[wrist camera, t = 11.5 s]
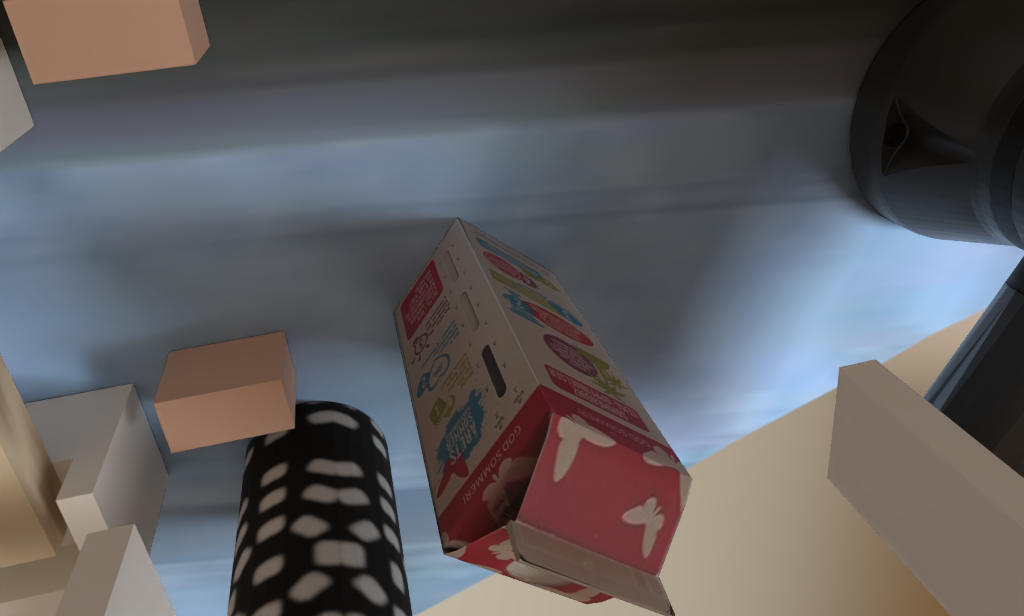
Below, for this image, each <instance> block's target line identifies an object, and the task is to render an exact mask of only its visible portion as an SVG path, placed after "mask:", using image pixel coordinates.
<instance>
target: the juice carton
mask: <svg viewBox="0 0 1024 616" xmlns="http://www.w3.org/2000/svg"><path fill="white" fill-rule="evenodd" d="M393 315H394V320H395V325H396V330H397V334H398V339H399V344H400V349H401V354H402V358H403V363H404V368H405V373H406V377H407V382H408V387H409V392H410V397H411V401H412V406H413V411H414V416H415V420H416V425H417V430H418V435H419V439H420V444H421V449H422V454H423V458H424V463H425V468H426V473H427V477H428V482H429V487H430V492H431V497H432V501H433V506H434V511H435V516H436V520H437V525H438V530H439V535H440V539H441V544H442V549H443V554H444V555H447V556H450V557H453V558H456V559H459V560H462V561H465V562H467V563H470V564H473V565H476V566H479V567H482V568H485V569H487V570H490V571H493V572H496V573H499V574H502V575H505V576H508V577H510V578H513V579H517V580H519V581H522V582H525V583H528V584H530V585H533V586H536V587H539V588H542V589H545V590H548V591H550V592H554V593H556V594H559V595H562V596H565V597H568V598H571V599H574V600H577V601H579V602H582V603H585V604H591V603H598V602H603V601H606V600H608V599H611V598H614V597H615V598H618V599H620V600H623V601H626V602H629V603H632V604H634V605H637V606H640V607H643V608H646V609H648V610H651V611H654V612H656V613H659V614H662V615H665V616H675V613H674V611H673V609H672V607H671V604H670V602H669V599H668V597H667V595H666V592H665V590H664V588H663V585H662V583H661V581H660V578H659V577H658V576H659V574H660V571H661V569H662V566H663V563H664V561H665V558H666V555H667V553H668V550H669V547H670V544H671V542H672V539H673V537H674V534H675V531H676V529H677V526H678V523H679V521H680V518H681V515H682V513H683V510H684V507H685V504H686V502H687V498H688V495H689V490H690V487H691V483H692V478H691V476H690V475H689V473H688V472H687V470H686V469H685V467H684V466H683V465H682V463H681V462H680V460H679V459H678V457H677V456H676V454H675V453H674V451H673V450H672V448H671V447H670V445H669V444H668V442H667V441H666V439H665V438H664V436H663V435H662V433H661V432H660V430H659V429H658V428H657V426H656V425H655V423H654V422H653V420H652V419H651V417H650V416H649V414H648V413H647V411H646V410H645V408H644V407H643V405H642V404H641V402H640V401H639V399H638V398H637V397H636V395H635V394H634V392H633V391H632V389H631V388H630V386H629V385H628V383H627V382H626V380H625V379H624V377H623V376H622V374H621V373H620V371H619V370H618V368H617V367H616V365H615V364H614V362H613V361H612V359H611V358H610V357H609V355H608V354H607V352H606V351H605V349H604V348H603V346H602V345H601V343H600V342H599V340H598V339H597V337H596V336H595V334H594V333H593V331H592V330H591V328H590V327H589V325H588V324H587V322H586V321H585V320H584V318H583V317H582V315H581V314H580V312H579V311H578V309H577V308H576V306H575V305H574V303H573V302H572V300H571V299H570V297H569V296H568V294H567V293H566V291H565V290H564V288H563V287H562V286H561V284H560V283H559V281H558V280H557V278H556V277H555V275H554V274H553V272H551V271H549V270H547V269H546V268H544V267H542V266H541V265H539V264H537V263H535V262H534V261H532V260H530V259H529V258H527V257H525V256H523V255H522V254H520V253H518V252H517V251H515V250H513V249H511V248H510V247H508V246H506V245H505V244H503V243H501V242H499V241H498V240H496V239H494V238H493V237H491V236H489V235H487V234H486V233H484V232H482V231H481V230H479V229H477V228H475V227H474V226H472V225H470V224H469V223H467V222H465V221H463V220H462V219H460V218H458V217H457V219H456V220H455V222H454V223H453V225H452V226H451V228H450V229H449V231H448V232H447V234H446V235H445V237H444V238H443V240H442V241H441V243H440V244H439V246H438V247H437V249H436V250H435V252H434V253H433V255H432V256H431V258H430V259H429V261H428V262H427V264H426V265H425V267H424V268H423V270H422V271H421V273H420V274H419V276H418V277H417V279H416V280H415V282H414V283H413V285H412V286H411V288H410V289H409V291H408V292H407V294H406V295H405V296H404V298H403V299H402V301H401V302H400V304H399V305H398V307H397V308H396V310H395V311H394V313H393ZM669 613H670V614H669Z"/></svg>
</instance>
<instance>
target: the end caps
mask: <svg viewBox="0 0 1024 616" xmlns="http://www.w3.org/2000/svg"><path fill="white" fill-rule="evenodd" d="M33 126H34V123H33V120H32V118H31V115H30V112H29V110H28V107H27V105H26V102H25V99H24V97H23V94H22V92H21V89H20V86H19V84H18V81H17V79H16V76H15V73H14V71H13V68H12V65H11V63H10V60H9V58H8V55H7V52H6V50H5V47H4V45H3V42H2V39H1V37H0V152H1V151H2V150H4V149H5V148H6V147H8V146H9V145H10V144H11V143H13V142H14V141H15V140H17V139H18V138H19V137H20V136H22V135H23V134H24V133H26V132H27V131H28V130H29V129H31V128H32V127H33ZM24 405H25V407H26V409H27V411H28V413H29V416H30V418H31V420H32V422H33V424H34V426H35V428H36V430H37V432H38V435H39V437H40V439H41V441H42V443H43V445H44V447H45V449H46V452H47V454H48V456H49V458H50V460H51V462H52V464H53V466H54V469H55V471H56V473H57V475H58V477H59V479H60V481H61V483H62V487H61V489H60V491H59V494H58V496H57V498H56V503H57V505H58V507H59V509H60V511H61V513H62V515H63V517H64V520H65V522H66V524H67V526H68V528H67V531H66V533H65V536H64V538H63V541H62V543H61V546H60V549H59V551H58V554H57V556H53V557H49V558H44V559H40V560H35V561H31V562H26V563H21V564H17V565H12V566H8V567H3V568H0V616H55V614H56V611H57V609H58V606H59V604H60V601H61V599H62V596H63V594H64V591H65V589H66V586H67V584H68V581H69V579H70V576H71V574H72V571H73V569H74V566H75V564H76V561H77V559H78V556H79V554H80V551H81V549H82V546H83V544H84V541H85V539H86V536H87V534H89V533H94V532H98V531H103V530H107V529H112V528H116V527H121V526H125V525H130V524H135V526H136V528H137V530H138V532H139V535H140V537H141V539H142V541H143V543H144V546H145V548H146V550H147V552H148V554H149V555H150V551H151V547H152V543H153V539H154V535H155V531H156V527H157V523H158V519H159V515H160V511H161V507H162V503H163V499H164V495H165V491H166V487H167V482H168V478H169V475H168V473H167V470H166V468H165V465H164V462H163V460H162V457H161V454H160V452H159V449H158V447H157V444H156V441H155V439H154V436H153V434H152V431H151V428H150V426H149V423H148V421H147V418H146V415H145V413H144V410H143V407H142V405H141V402H140V400H139V397H138V394H137V392H136V389H135V387H134V384H133V383H132V384H127V385H121V386H116V387H111V388H105V389H100V390H95V391H89V392H84V393H79V394H73V395H68V396H63V397H57V398H52V399H47V400H41V401H36V402H31V403H25V404H24Z"/></svg>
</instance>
